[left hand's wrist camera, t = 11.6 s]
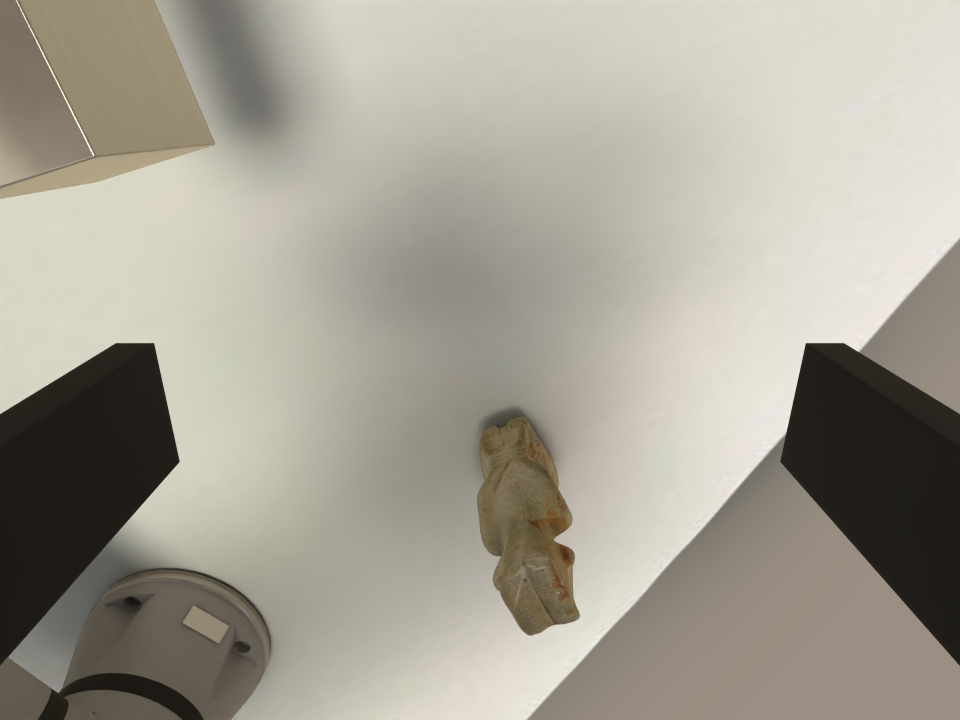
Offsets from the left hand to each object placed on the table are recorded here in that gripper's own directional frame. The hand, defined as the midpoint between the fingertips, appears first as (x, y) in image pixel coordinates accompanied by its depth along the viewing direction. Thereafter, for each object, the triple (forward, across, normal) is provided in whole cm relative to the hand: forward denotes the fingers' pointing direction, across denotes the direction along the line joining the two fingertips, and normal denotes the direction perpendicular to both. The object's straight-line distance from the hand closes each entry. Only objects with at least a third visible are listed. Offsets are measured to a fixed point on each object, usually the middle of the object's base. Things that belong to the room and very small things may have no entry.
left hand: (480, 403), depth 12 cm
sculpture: (+29, -3, +18) cm, 34 cm away
